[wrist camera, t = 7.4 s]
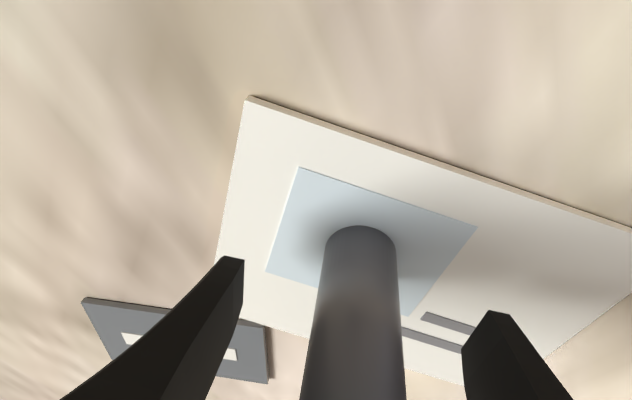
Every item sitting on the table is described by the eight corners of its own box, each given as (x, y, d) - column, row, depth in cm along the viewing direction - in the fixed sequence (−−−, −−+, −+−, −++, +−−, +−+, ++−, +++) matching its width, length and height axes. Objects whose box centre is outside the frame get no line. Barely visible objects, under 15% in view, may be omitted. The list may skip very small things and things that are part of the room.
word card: (264, 322, 16) (262, 329, 16) (268, 378, 19) (267, 385, 19) (84, 297, 17) (79, 303, 17) (115, 354, 20) (111, 360, 20)
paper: (676, 243, 11) (687, 253, 11) (491, 386, 17) (494, 396, 17) (249, 95, 10) (244, 100, 10) (209, 300, 16) (205, 308, 16)
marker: (413, 256, 12) (446, 518, 7) (358, 288, 14) (346, 530, 8) (361, 211, 11) (348, 465, 6) (308, 249, 13) (255, 488, 7)
